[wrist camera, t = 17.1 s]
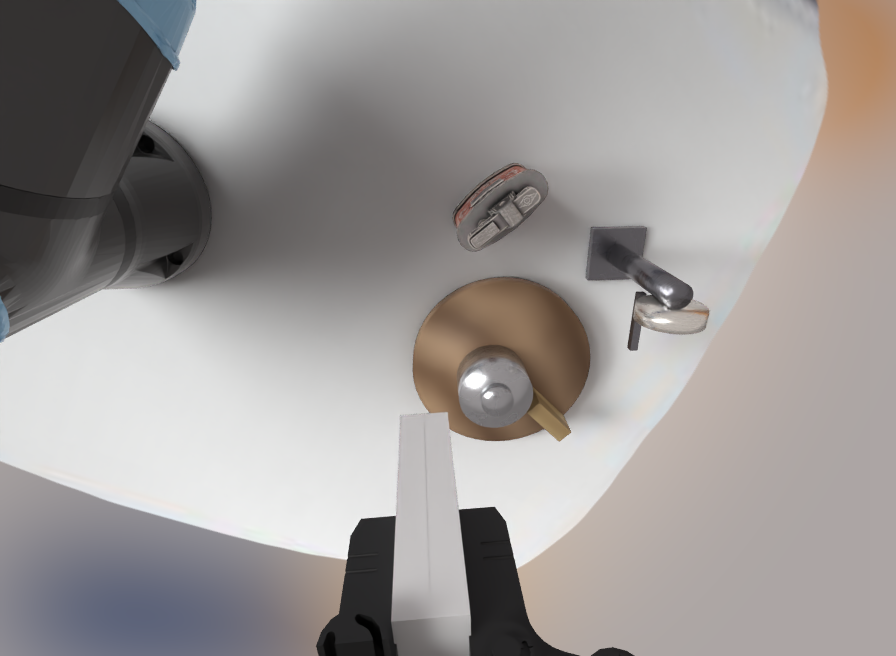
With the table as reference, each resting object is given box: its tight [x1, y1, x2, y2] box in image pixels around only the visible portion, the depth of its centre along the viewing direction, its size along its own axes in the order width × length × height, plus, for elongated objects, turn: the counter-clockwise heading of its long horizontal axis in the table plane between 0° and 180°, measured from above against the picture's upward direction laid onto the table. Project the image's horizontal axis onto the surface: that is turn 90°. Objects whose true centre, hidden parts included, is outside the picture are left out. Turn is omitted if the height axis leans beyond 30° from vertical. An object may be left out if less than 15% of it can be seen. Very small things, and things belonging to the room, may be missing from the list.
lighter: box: [453, 163, 548, 252], centre depth 38 cm, size 8×3×10 cm, turn 129°
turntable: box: [413, 277, 590, 441], centre depth 46 cm, size 18×18×5 cm
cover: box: [457, 345, 533, 428], centre depth 45 cm, size 7×7×5 cm
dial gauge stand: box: [586, 226, 709, 351], centre depth 39 cm, size 5×8×14 cm, turn 1°
